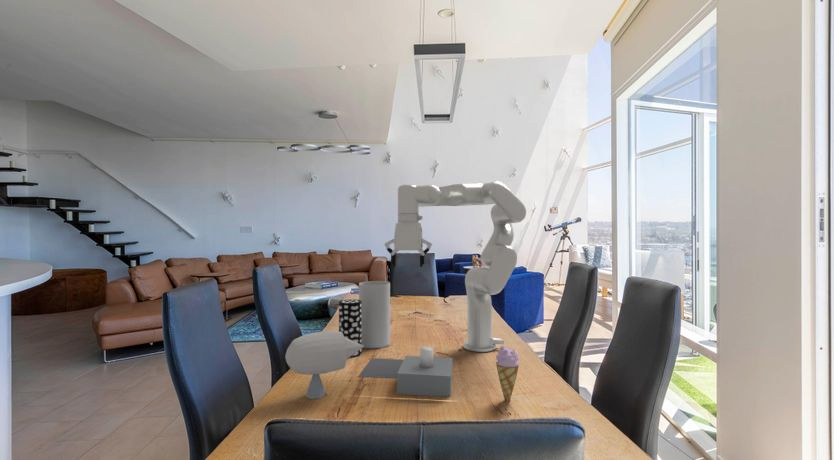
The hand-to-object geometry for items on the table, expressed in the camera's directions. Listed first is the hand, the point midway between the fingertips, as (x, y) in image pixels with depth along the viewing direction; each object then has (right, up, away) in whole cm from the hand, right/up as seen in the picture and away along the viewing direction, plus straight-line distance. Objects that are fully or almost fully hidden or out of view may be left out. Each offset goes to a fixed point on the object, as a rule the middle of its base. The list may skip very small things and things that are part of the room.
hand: (408, 266), depth 145 cm
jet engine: (-23, -34, -31) cm, 51 cm away
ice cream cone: (+28, -34, -36) cm, 56 cm away
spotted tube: (-22, -34, +4) cm, 40 cm away
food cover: (+6, -33, -26) cm, 42 cm away
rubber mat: (-5, -33, -11) cm, 36 cm away
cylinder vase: (-14, -34, +17) cm, 40 cm away
